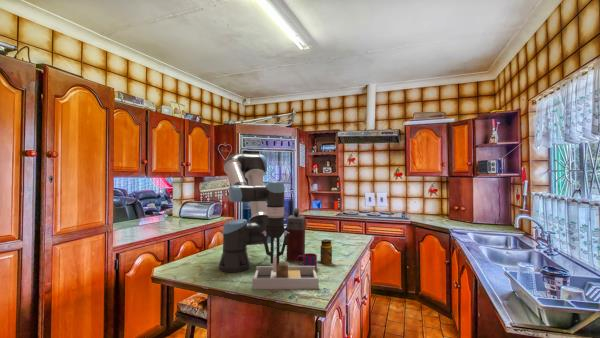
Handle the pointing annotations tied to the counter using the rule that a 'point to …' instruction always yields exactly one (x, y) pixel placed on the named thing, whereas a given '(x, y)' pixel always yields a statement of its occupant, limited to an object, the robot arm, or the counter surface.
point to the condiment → (326, 253)
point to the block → (282, 270)
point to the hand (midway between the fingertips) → (274, 271)
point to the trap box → (296, 278)
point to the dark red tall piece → (295, 236)
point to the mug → (309, 260)
